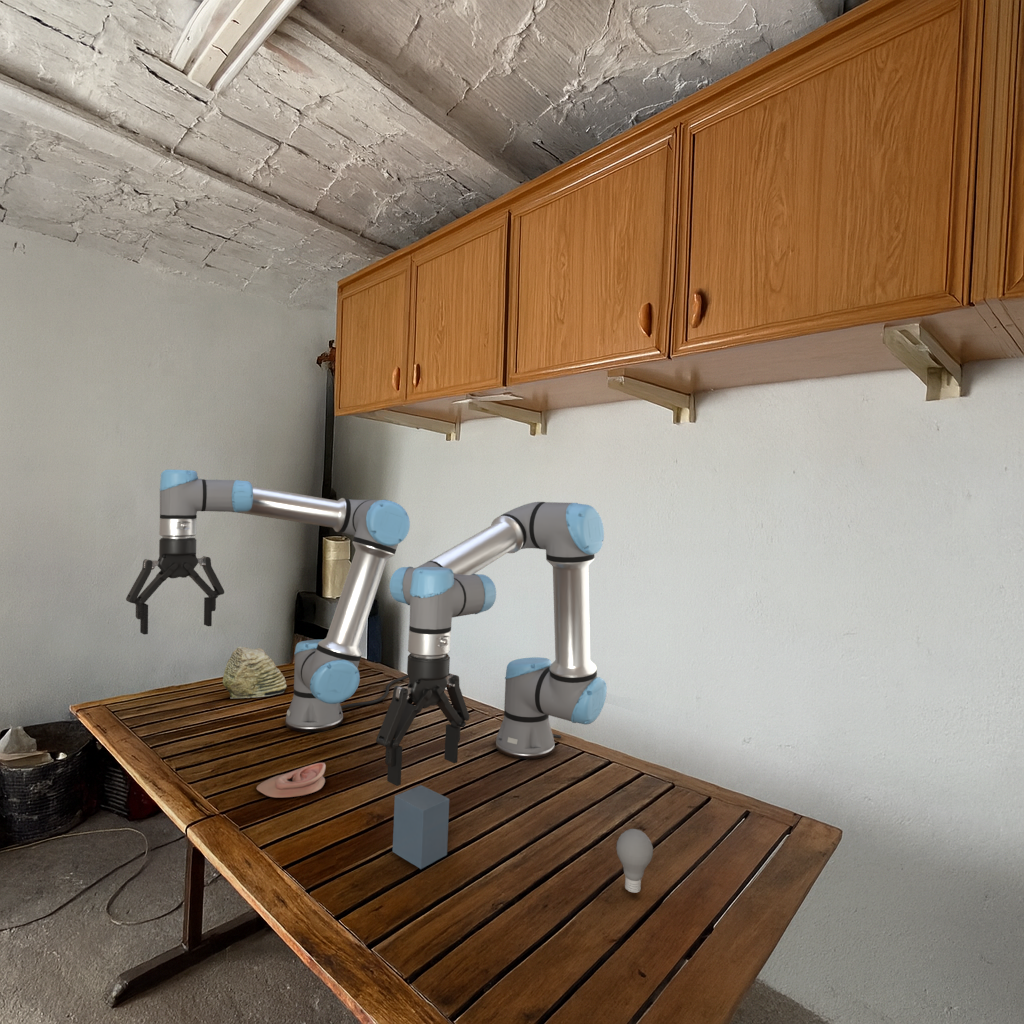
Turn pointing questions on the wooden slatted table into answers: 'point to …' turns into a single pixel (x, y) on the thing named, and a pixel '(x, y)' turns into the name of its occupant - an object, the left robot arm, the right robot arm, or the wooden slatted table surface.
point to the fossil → (252, 674)
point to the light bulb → (634, 857)
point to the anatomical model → (295, 782)
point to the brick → (420, 826)
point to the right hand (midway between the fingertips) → (423, 771)
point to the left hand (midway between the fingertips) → (176, 629)
